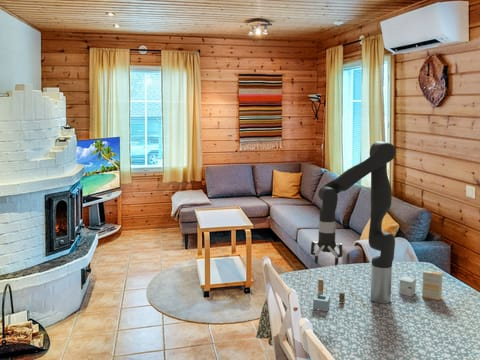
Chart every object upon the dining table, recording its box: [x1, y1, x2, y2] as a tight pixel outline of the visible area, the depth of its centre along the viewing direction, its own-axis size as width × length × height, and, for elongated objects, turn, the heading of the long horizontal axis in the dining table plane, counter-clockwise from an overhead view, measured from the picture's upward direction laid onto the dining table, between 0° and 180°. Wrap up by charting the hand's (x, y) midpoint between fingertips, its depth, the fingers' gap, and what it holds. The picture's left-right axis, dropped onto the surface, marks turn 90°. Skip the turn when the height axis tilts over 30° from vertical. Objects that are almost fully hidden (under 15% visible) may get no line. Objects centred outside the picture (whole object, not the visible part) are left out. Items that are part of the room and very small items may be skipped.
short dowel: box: [338, 291, 346, 303], centre depth 210 cm, size 2×2×4 cm
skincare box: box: [398, 276, 417, 297], centre depth 219 cm, size 6×6×7 cm
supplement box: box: [421, 268, 444, 301], centre depth 213 cm, size 8×5×13 cm, turn 58°
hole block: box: [312, 293, 331, 311], centre depth 204 cm, size 6×6×5 cm
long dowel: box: [317, 278, 324, 295], centre depth 213 cm, size 2×2×10 cm
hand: (326, 264), depth 205 cm, fingers open, 8 cm apart
